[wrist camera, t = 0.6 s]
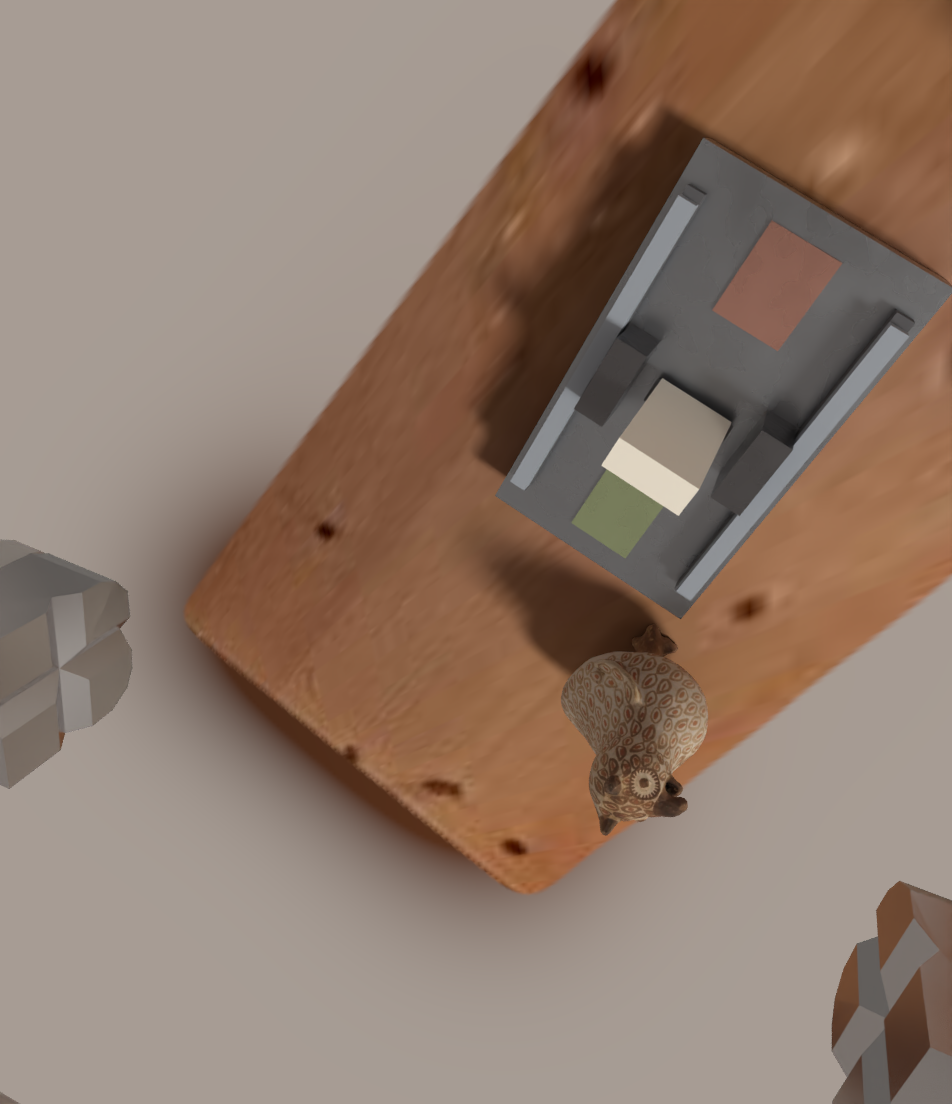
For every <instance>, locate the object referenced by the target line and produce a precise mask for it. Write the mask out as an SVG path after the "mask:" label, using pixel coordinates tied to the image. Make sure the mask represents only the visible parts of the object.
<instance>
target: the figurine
mask: <svg viewBox="0 0 952 1104" xmlns="http://www.w3.org/2000/svg"><path fill="white" fill-rule="evenodd" d="M632 645H633V647H634V648H635V650H636V652H626V651H616V652H609V653H606V654H602V655H598V656H595V657H592V658H591V659H589V660H587V661H586V662H585V663H584V664H582V665H581V666H580V667H579V668H578V669H577V670H576V671H575V672H574V673H573V674H572V675H571V676H570V678H569V679H568V681H567V682H566V684H565V686H564V688H563V691H562V696H561V703H562V707H563V710H564V712H565V714H566V716H567V717H568V718H569V720H570V721H571V722H572V723H573V724H574V725H575V727H576V728H577V729H578V730H579V732H580V733H581V734H582V735H583V736H584V737H585V739H586V740H587V741H588V743H589V744H590V746H591V748H592V749H593V751H594V752H595V754H596V757H595V759H594V761H593V764H592V767H591V771H590V777H589V789H590V794H591V796H592V799H593V802H594V805H595V808H596V811H597V814H598V817H599V820H600V830H601V833H602V834H603V835H605V836H606V835H608V834H609V833H610V832H611V831H612V829H613V828H614V827H615V826H616V824H617V823H618V822H620V821H630V820H636V821H638V822H642V821H644V820H646V819H647V818H648V817H659V816H664V817H675V816H677V815H680V814H681V813H682V812H684V811H685V810H686V809H687V801H686V800H685V798H682V797H677V796H678V795H680V794H681V792H682V791H683V788H682V786H681V785H680V783H678V782H677V781H676V780H675V779H674V777H673V776H672V773H673V771H674V770H675V769H677V768H678V767H679V766H680V765H682V764H683V763H684V762H685V761H686V760H687V759H688V758H689V757H691V756H692V755H693V754H694V753H695V752H696V751H697V750H698V748H699V747H700V745H701V743H702V741H703V740H704V738H705V736H706V732H707V725H708V710H707V703H706V699H705V696H704V694H703V692H702V690H701V688H700V687H699V685H698V684H697V682H696V681H695V680H694V678H693V677H692V676H691V675H690V674H689V673H688V672H687V671H686V670H684V669H683V668H682V667H681V666H679V665H678V664H676V663H674V662H673V661H671V660H668V659H666V658H664V657H663V656H664V655H667V654H669V653H674V652H676V651H677V650H678V647H677V645H676V644H675V643H672V641H671V640H670V639H669V638H668V637H663V636H661V633H660V630H659V629H658V627H657V626H656V624H653V625H650V626H648V627H647V629H646V632H645V634H644V635H643V636H641V637H635V638H633V639H632Z"/></svg>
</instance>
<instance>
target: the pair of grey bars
mask: <svg viewBox="0 0 952 1104" xmlns="http://www.w3.org/2000/svg"><path fill="white" fill-rule="evenodd" d="M706 196H707V194H706V193H705V192H703V191H702V190H700V189H698V188H697V187H695V186H693V185H692V184H687V186H686V188H685V189H684V191H683V193H682V194H681V195H678V197H677V198H676V200H675V202H674V203H673V205H672V207H671V209H670V210H669V212H668V214H667V215H666V217H665V219H664V220H663V222H662V224H661V226H660V227H659V229H658V231H657V232H656V234H655V236H654V237H653V239H652V241H651V243H650V244H649V246H648V248H647V249H646V251H645V253H644V254H643V256H642V258H641V260H640V261H639V263H638V265H637V266H636V268H635V270H634V272H633V273H632V275H631V277H630V278H629V280H628V282H627V283H626V285H625V287H624V289H623V290H622V292H621V294H620V295H619V297H618V299H617V300H616V302H615V304H614V306H613V307H612V309H611V311H610V312H609V314H608V316H607V317H606V319H605V321H604V323H603V324H602V326H601V328H600V329H599V331H598V333H597V335H596V336H595V338H594V340H593V341H592V343H591V345H590V346H589V348H588V350H587V352H586V353H585V355H584V357H583V358H582V360H581V362H580V363H579V365H578V367H577V369H576V370H575V372H574V374H573V375H572V377H571V379H570V380H569V382H568V384H567V386H566V387H565V389H564V391H563V392H562V394H561V396H560V398H559V399H558V401H557V403H556V404H555V406H554V408H553V409H552V411H551V413H550V415H549V416H548V418H547V420H546V421H545V423H544V425H543V426H542V428H541V430H540V432H539V433H538V435H537V437H536V438H535V440H534V442H533V444H532V445H531V447H530V449H529V450H528V452H527V454H526V455H525V457H524V459H523V461H522V462H521V464H520V466H519V467H518V469H517V471H516V472H515V474H514V476H513V478H512V479H511V481H510V482H512V483H513V484H515V485H516V486H518V487H519V488H521V489H522V490H525V491H526V490H527V489H528V488H529V487H530V486H531V484H532V482H533V481H534V479H535V477H536V476H537V474H538V472H539V471H540V469H541V467H542V466H543V464H544V462H545V461H546V459H547V458H548V456H549V454H550V453H551V451H552V449H553V448H554V446H555V444H556V443H557V441H558V439H559V438H560V436H561V434H562V433H563V431H564V429H565V428H566V426H567V425H568V423H569V421H570V420H571V418H572V416H573V415H574V413H575V411H576V410H575V409H574V408H575V406H576V404H577V403H578V401H579V399H580V398H581V396H582V394H583V393H584V391H585V389H586V388H587V386H588V384H589V383H590V381H591V379H592V378H593V376H594V374H595V373H596V371H597V369H598V368H599V366H600V364H601V363H602V361H603V360H604V358H605V356H606V355H607V353H608V351H609V350H610V348H611V346H612V345H613V343H614V341H615V340H616V338H617V337H618V336H619V335H621V334H622V333H623V332H624V331H625V329H626V327H627V326H628V324H629V322H630V321H631V319H632V317H633V316H634V314H635V313H636V311H637V309H638V308H639V306H640V304H641V303H642V301H643V299H644V298H645V296H646V294H647V293H648V291H649V289H650V288H651V286H652V284H653V283H654V281H655V280H656V278H657V276H658V275H659V273H660V271H661V270H662V268H663V266H664V265H665V263H666V261H667V260H668V258H669V256H670V255H671V253H672V252H673V250H674V248H675V247H676V245H677V243H678V242H679V240H680V238H681V237H682V235H683V233H684V232H685V230H686V228H687V227H688V225H689V224H690V222H691V220H692V219H693V217H694V215H695V214H696V212H697V210H698V209H699V207H700V205H701V204H702V202H703V200H704V199H705V197H706ZM914 324H915V322H914V320H913V319H912V318H910V317H908V316H907V315H905V314H903V313H902V312H900V311H898V310H897V309H895V310H894V312H893V313H892V314H891V315H890V317H889V318H888V319H887V320H886V322H885V323H884V324H883V325H882V327H881V328H880V329H879V330H878V332H877V333H876V334H875V335H874V337H873V338H872V339H871V340H870V342H869V343H868V344H867V345H866V347H865V348H864V349H863V350H862V352H861V353H860V354H859V355H858V357H857V358H856V359H855V360H854V362H853V363H852V364H851V365H850V367H849V368H848V369H847V370H846V372H845V373H844V374H843V375H842V377H841V378H840V379H839V380H838V382H837V383H836V384H835V385H834V387H833V388H832V389H831V390H830V392H829V393H828V394H827V395H826V397H825V398H824V399H823V400H822V402H821V403H820V404H819V405H818V407H817V408H816V409H815V410H814V412H813V413H812V414H811V415H810V417H809V418H808V419H807V420H806V422H805V423H804V424H803V425H802V427H801V428H800V429H799V430H798V432H797V433H796V434H795V440H794V447H793V451H792V452H791V453H790V454H789V456H788V457H787V458H786V459H785V461H784V462H783V463H782V464H781V466H780V467H779V468H778V469H777V470H776V472H775V473H774V474H773V475H772V477H771V478H770V479H769V480H768V482H767V483H766V484H765V485H764V487H763V488H762V489H761V490H760V491H759V493H758V494H757V495H756V496H755V498H754V499H753V500H752V501H751V503H750V504H749V505H748V506H747V508H746V509H745V510H744V511H743V513H742V514H741V515H740V516H738V515H737V514H735V513H734V512H733V513H732V514H731V515H730V517H729V518H728V519H727V520H726V522H725V523H724V524H723V525H722V527H721V528H720V529H719V530H718V532H717V533H716V534H715V535H714V537H713V538H712V539H711V540H710V542H709V543H708V544H707V545H706V547H705V548H704V549H703V550H702V552H701V553H700V554H699V555H698V557H697V558H696V559H695V560H694V562H693V563H692V564H691V565H690V567H689V568H688V569H687V570H686V572H685V573H684V574H683V575H682V577H681V578H680V579H679V580H678V582H677V583H676V586H675V589H674V590H675V591H676V592H678V593H679V594H681V595H682V596H684V597H685V598H687V599H688V600H690V601H691V600H692V599H693V597H694V596H695V595H696V594H697V593H698V591H699V590H700V589H701V588H702V587H703V585H704V584H705V583H706V582H707V580H708V579H709V578H710V577H711V576H712V574H713V573H714V572H715V571H716V570H717V568H718V567H719V566H720V565H721V564H722V562H723V561H724V560H725V559H726V558H727V556H728V555H729V554H730V553H731V551H732V550H733V549H734V548H735V547H736V545H737V544H738V543H739V542H740V541H741V539H742V538H743V537H744V536H745V535H746V533H747V532H748V531H749V530H750V529H751V527H752V526H753V525H754V524H755V522H756V521H757V520H758V519H759V518H760V516H761V515H762V514H763V513H764V512H765V510H766V509H767V508H768V507H769V506H770V504H771V503H772V502H773V501H774V500H775V498H776V497H777V496H778V495H779V493H780V492H781V491H782V490H783V489H784V487H785V486H786V485H787V484H788V483H789V481H790V480H791V479H792V478H793V477H794V475H795V474H796V473H797V472H798V471H799V469H800V468H801V467H802V466H803V464H804V463H805V462H806V461H807V460H808V458H809V457H810V456H811V455H812V454H813V452H814V451H815V450H816V449H817V448H818V446H819V445H820V444H821V443H822V442H823V440H824V439H825V438H826V437H827V435H828V434H829V433H830V432H831V431H832V429H833V428H834V427H835V426H836V425H837V423H838V422H839V421H840V420H841V419H842V417H843V416H844V415H845V414H846V413H847V411H848V410H849V409H850V408H851V406H852V405H853V404H854V403H855V402H856V400H857V399H858V398H859V397H860V396H861V394H862V393H863V392H864V391H865V390H866V388H867V387H868V386H869V385H870V384H871V382H872V381H873V380H874V379H875V377H876V376H877V375H878V374H879V373H880V371H881V370H882V369H883V368H884V367H885V365H886V364H887V363H888V362H889V361H890V359H891V358H892V357H893V356H894V355H895V353H896V352H897V351H898V350H899V348H900V347H901V346H902V345H903V344H904V342H905V341H906V340H907V339H908V338H909V334H908V332H909V331H910V329H911V328H912V327H913V326H914Z"/></svg>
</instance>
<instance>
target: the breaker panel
mask: <svg viewBox="0 0 952 1104" xmlns="http://www.w3.org/2000/svg"><path fill="white" fill-rule="evenodd" d="M687 184H692V185H693V186H695V187H697V188H698V189H700V190H702V191H703V192H705V193H706V194H707V196H706V197H705V199H704V200H703V202H702V204H701V205H700V207H699V209H698V210H697V212H696V214H695V215H694V217H693V219H692V220H691V222H690V224H689V225H688V227H687V228H686V230H685V232H684V233H683V235H682V237H681V238H680V240H679V242H678V243H677V245H676V247H675V248H674V250H673V252H672V253H671V255H670V256H669V258H668V260H667V261H666V263H665V265H664V266H663V268H662V270H661V271H660V273H659V275H658V276H657V278H656V280H655V281H654V283H653V284H652V286H651V288H650V289H649V291H648V293H647V294H646V296H645V298H644V299H643V301H642V303H641V304H640V306H639V308H638V309H637V311H636V313H635V314H634V316H633V317H632V319H631V321H630V322H629V324H628V326H627V327H626V329H625V331H624V332H623V333H622V334H621V335H619V336H618V337H617V338H616V340H615V341H614V343H613V345H612V346H611V348H610V350H609V351H608V353H607V355H606V356H605V358H604V360H603V361H602V363H601V364H600V366H599V368H598V369H597V371H596V373H595V374H594V376H593V378H592V379H591V381H590V383H589V384H588V386H587V388H586V389H585V391H584V393H583V394H582V396H581V398H580V399H579V401H578V403H577V404H576V406H575V408H574V409H575V410H576V411H575V413H574V415H573V416H572V418H571V420H570V421H569V423H568V425H567V426H566V428H565V429H564V431H563V433H562V434H561V436H560V438H559V439H558V441H557V443H556V444H555V446H554V448H553V449H552V451H551V453H550V454H549V456H548V458H547V459H546V461H545V462H544V464H543V466H542V467H541V469H540V471H539V472H538V474H537V476H536V477H535V479H534V481H533V482H532V484H531V486H530V487H529V488H528V489H527V490H526V491H525V490H522V489H521V488H519V487H518V486H516V485H515V484H513V483H512V482H510V481H511V479H512V478H513V476H514V474H515V472H516V471H517V469H518V467H519V466H520V464H521V462H522V461H523V459H524V457H525V455H526V454H527V452H528V450H529V449H530V447H531V445H532V444H533V442H534V440H535V438H536V437H537V435H538V433H539V432H540V430H541V428H542V426H543V425H544V423H545V421H546V420H547V418H548V416H549V415H550V413H551V411H552V409H553V408H554V406H555V404H556V403H557V401H558V399H559V398H560V396H561V394H562V392H563V391H564V389H565V387H566V386H567V384H568V382H569V380H570V379H571V377H572V375H573V374H574V372H575V370H576V369H577V367H578V365H579V363H580V362H581V360H582V358H583V357H584V355H585V353H586V352H587V350H588V348H589V346H590V345H591V343H592V341H593V340H594V338H595V336H596V335H597V333H598V331H599V329H600V328H601V326H602V324H603V323H604V321H605V319H606V317H607V316H608V314H609V312H610V311H611V309H612V307H613V306H614V304H615V302H616V300H617V299H618V297H619V295H620V294H621V292H622V290H623V289H624V287H625V285H626V283H627V282H628V280H629V278H630V277H631V275H632V273H633V272H634V270H635V268H636V266H637V265H638V263H639V261H640V260H641V258H642V256H643V254H644V253H645V251H646V249H647V248H648V246H649V244H650V243H651V241H652V239H653V237H654V236H655V234H656V232H657V231H658V229H659V227H660V226H661V224H662V222H663V220H664V219H665V217H666V215H667V214H668V212H669V210H670V209H671V207H672V205H673V203H674V202H675V200H676V198H677V197H678V195H681V194H682V193H683V191H684V189H685V188H686V186H687ZM951 294H952V285H951V284H950V283H949V282H948V281H947V280H946V279H944V278H942V277H941V276H939V275H937V274H936V273H934V272H932V271H931V270H929V269H927V268H926V267H924V266H922V265H921V264H919V263H917V262H916V261H914V260H912V259H911V258H909V257H907V256H906V255H904V254H902V253H901V252H899V251H897V250H896V249H894V248H892V247H891V246H889V245H887V244H886V243H884V242H882V241H881V240H879V239H877V238H876V237H874V236H872V235H871V234H869V233H867V232H866V231H864V230H863V229H861V228H859V227H858V226H856V225H854V224H853V223H851V222H849V221H848V220H846V219H844V218H843V217H841V216H839V215H838V214H836V213H834V212H833V211H831V210H829V209H828V208H826V207H824V206H823V205H821V204H819V203H818V202H816V201H814V200H813V199H811V198H809V197H808V196H806V195H804V194H803V193H801V192H799V191H798V190H796V189H794V188H793V187H791V186H789V185H788V184H786V183H784V182H783V181H781V180H779V179H778V178H776V177H774V176H773V175H771V174H769V173H768V172H766V171H764V170H763V169H761V168H760V167H758V166H756V165H755V164H753V163H751V162H750V161H748V160H746V159H745V158H743V157H741V156H740V155H738V154H736V153H735V152H733V151H731V150H730V149H728V148H726V147H725V146H723V145H721V144H720V143H718V142H716V141H715V140H713V139H711V138H703V139H702V141H701V143H700V144H699V146H698V148H697V149H696V151H695V153H694V155H693V156H692V158H691V160H690V162H689V163H688V165H687V167H686V168H685V170H684V172H683V174H682V175H681V177H680V179H679V180H678V182H677V184H676V186H675V187H674V189H673V191H672V192H671V194H670V196H669V198H668V199H667V201H666V203H665V205H664V206H663V208H662V210H661V211H660V213H659V215H658V217H657V218H656V220H655V222H654V223H653V225H652V227H651V229H650V230H649V232H648V234H647V235H646V237H645V239H644V241H643V242H642V244H641V246H640V248H639V249H638V251H637V253H636V254H635V256H634V258H633V260H632V261H631V263H630V265H629V266H628V268H627V270H626V272H625V273H624V275H623V277H622V278H621V280H620V282H619V284H618V285H617V287H616V289H615V291H614V292H613V294H612V296H611V297H610V299H609V301H608V303H607V304H606V306H605V308H604V309H603V311H602V313H601V315H600V316H599V318H598V320H597V321H596V323H595V325H594V327H593V328H592V330H591V332H590V334H589V335H588V337H587V339H586V340H585V342H584V344H583V346H582V347H581V349H580V351H579V352H578V354H577V356H576V358H575V359H574V361H573V363H572V364H571V366H570V368H569V370H568V371H567V373H566V375H565V377H564V378H563V380H562V382H561V383H560V385H559V387H558V389H557V390H556V392H555V394H554V395H553V397H552V399H551V401H550V402H549V404H548V406H547V407H546V409H545V411H544V413H543V414H542V416H541V418H540V419H539V421H538V423H537V425H536V426H535V428H534V430H533V432H532V433H531V435H530V437H529V438H528V440H527V442H526V444H525V445H524V447H523V449H522V450H521V452H520V454H519V456H518V457H517V459H516V461H515V462H514V464H513V466H512V468H511V469H510V471H509V473H508V475H507V476H506V478H505V480H504V481H503V483H502V485H501V487H500V488H499V490H498V492H497V493H496V495H495V496H496V497H498V498H499V499H501V500H502V501H504V502H505V503H507V504H508V505H510V506H511V507H513V508H514V509H516V510H517V511H519V512H520V513H522V514H523V515H525V516H526V517H528V518H529V519H531V520H532V521H534V522H535V523H537V524H538V525H540V526H541V527H543V528H544V529H546V530H547V531H549V532H550V533H552V534H553V535H555V536H556V537H558V538H559V539H561V540H562V541H564V542H565V543H567V544H568V545H570V546H571V547H573V548H574V549H576V550H577V551H579V552H580V553H582V554H583V555H585V556H586V557H588V558H589V559H591V560H592V561H594V562H596V563H597V564H599V565H600V566H602V567H603V568H605V569H606V570H608V571H609V572H611V573H612V574H614V575H615V576H617V577H618V578H620V579H621V580H623V581H624V582H626V583H627V584H629V585H630V586H632V587H633V588H635V589H636V590H638V591H639V592H641V593H642V594H644V595H645V596H647V597H648V598H650V599H651V600H653V601H654V602H656V603H657V604H659V605H660V606H662V607H663V608H665V609H666V610H668V611H669V612H671V613H672V614H674V615H675V616H677V617H678V618H680V619H681V618H682V617H683V616H684V615H685V613H686V612H687V611H688V610H689V609H690V607H691V606H692V605H693V604H694V603H695V601H696V600H697V599H698V598H699V597H700V595H701V594H702V593H703V592H704V591H705V589H706V588H707V587H708V586H709V584H710V583H711V582H712V581H713V580H714V578H715V577H716V576H717V575H718V574H719V572H720V571H721V570H722V569H723V568H724V566H725V565H726V564H727V563H728V562H729V560H730V559H731V558H732V557H733V556H734V554H735V553H736V552H737V551H738V550H739V548H740V547H741V546H742V545H743V544H744V542H745V541H746V540H747V539H748V538H749V536H750V535H751V534H752V533H753V532H754V530H755V529H756V528H757V527H758V526H759V524H760V523H761V522H762V521H763V520H764V518H765V517H766V516H767V515H768V514H769V512H770V511H771V510H772V509H773V508H774V506H775V505H776V504H777V503H778V502H779V500H780V499H781V498H782V497H783V496H784V494H785V493H786V492H787V491H788V490H789V488H790V487H791V486H792V485H793V484H794V482H795V481H796V480H797V479H798V478H799V476H800V475H801V474H802V473H803V472H804V470H805V469H806V468H807V467H808V466H809V464H810V463H811V462H812V461H813V460H814V458H815V457H816V456H817V455H818V454H819V452H820V451H821V450H822V449H823V448H824V446H825V445H826V444H827V443H828V442H829V440H830V439H831V438H832V437H833V436H834V434H835V433H836V432H837V431H838V430H839V428H840V427H841V426H842V425H843V424H844V422H845V421H846V420H847V419H848V418H849V416H850V415H851V414H852V413H853V412H854V410H855V409H856V408H857V407H858V406H859V404H860V403H861V402H862V401H863V400H864V398H865V397H866V396H867V395H868V394H869V392H870V391H871V390H872V389H873V388H874V386H875V385H876V384H877V383H878V382H879V380H880V379H881V378H882V377H883V376H884V374H885V373H886V372H887V371H888V370H889V368H890V367H891V366H892V365H893V364H894V362H895V361H896V360H897V359H898V358H899V356H900V355H901V354H902V353H903V352H904V350H905V349H906V348H907V347H908V346H909V344H910V343H911V342H912V341H913V340H914V338H915V337H916V336H917V335H918V334H919V332H920V331H921V330H922V329H923V328H924V326H925V325H926V324H927V323H928V322H929V320H930V319H931V318H932V317H933V316H934V314H935V313H936V312H937V311H938V309H939V308H940V307H941V306H942V305H943V303H944V302H945V301H946V300H947V299H948V297H949V296H950V295H951ZM895 309H897V310H898V311H900V312H902V313H903V314H905V315H907V316H908V317H910V318H912V319H913V320H914V322H915V324H914V326H913V327H912V328H911V329H910V331H909V332H908V334H909V338H908V339H907V340H906V341H905V342H904V344H903V345H902V346H901V347H900V348H899V350H898V351H897V352H896V353H895V355H894V356H893V357H892V358H891V359H890V361H889V362H888V363H887V364H886V365H885V367H884V368H883V369H882V370H881V371H880V373H879V374H878V375H877V376H876V377H875V379H874V380H873V381H872V382H871V384H870V385H869V386H868V387H867V388H866V390H865V391H864V392H863V393H862V394H861V396H860V397H859V398H858V399H857V400H856V402H855V403H854V404H853V405H852V406H851V408H850V409H849V410H848V411H847V413H846V414H845V415H844V416H843V417H842V419H841V420H840V421H839V422H838V423H837V425H836V426H835V427H834V428H833V429H832V431H831V432H830V433H829V434H828V435H827V437H826V438H825V439H824V440H823V442H822V443H821V444H820V445H819V446H818V448H817V449H816V450H815V451H814V452H813V454H812V455H811V456H810V457H809V458H808V460H807V461H806V462H805V463H804V464H803V466H802V467H801V468H800V469H799V471H798V472H797V473H796V474H795V475H794V477H793V478H792V479H791V480H790V481H789V483H788V484H787V485H786V486H785V487H784V489H783V490H782V491H781V492H780V493H779V495H778V496H777V497H776V498H775V500H774V501H773V502H772V503H771V504H770V506H769V507H768V508H767V509H766V510H765V512H764V513H763V514H762V515H761V516H760V518H759V519H758V520H757V521H756V522H755V524H754V525H753V526H752V527H751V529H750V530H749V531H748V532H747V533H746V535H745V536H744V537H743V538H742V539H741V541H740V542H739V543H738V544H737V545H736V547H735V548H734V549H733V550H732V551H731V553H730V554H729V555H728V556H727V558H726V559H725V560H724V561H723V562H722V564H721V565H720V566H719V567H718V568H717V570H716V571H715V572H714V573H713V574H712V576H711V577H710V578H709V579H708V580H707V582H706V583H705V584H704V585H703V587H702V588H701V589H700V590H699V591H698V593H697V594H696V595H695V596H694V597H693V599H692V600H691V601H690V600H688V599H687V598H685V597H684V596H682V595H681V594H679V593H678V592H676V591H675V590H674V589H675V586H676V583H677V582H678V580H679V579H680V578H681V577H682V575H683V574H684V573H685V572H686V570H687V569H688V568H689V567H690V565H691V564H692V563H693V562H694V560H695V559H696V558H697V557H698V555H699V554H700V553H701V552H702V550H703V549H704V548H705V547H706V545H707V544H708V543H709V542H710V540H711V539H712V538H713V537H714V535H715V534H716V533H717V532H718V530H719V529H720V528H721V527H722V525H723V524H724V523H725V522H726V520H727V519H728V518H729V517H730V515H731V514H732V513H733V512H734V513H735V514H737V515H738V516H740V515H741V514H742V513H743V511H744V510H745V509H746V508H747V506H748V505H749V504H750V503H751V501H752V500H753V499H754V498H755V496H756V495H757V494H758V493H759V491H760V490H761V489H762V488H763V487H764V485H765V484H766V483H767V482H768V480H769V479H770V478H771V477H772V475H773V474H774V473H775V472H776V470H777V469H778V468H779V467H780V466H781V464H782V463H783V462H784V461H785V459H786V458H787V457H788V456H789V454H790V453H791V452H792V451H793V447H794V440H795V434H796V433H797V432H798V430H799V429H800V428H801V427H802V425H803V424H804V423H805V422H806V420H807V419H808V418H809V417H810V415H811V414H812V413H813V412H814V410H815V409H816V408H817V407H818V405H819V404H820V403H821V402H822V400H823V399H824V398H825V397H826V395H827V394H828V393H829V392H830V390H831V389H832V388H833V387H834V385H835V384H836V383H837V382H838V380H839V379H840V378H841V377H842V375H843V374H844V373H845V372H846V370H847V369H848V368H849V367H850V365H851V364H852V363H853V362H854V360H855V359H856V358H857V357H858V355H859V354H860V353H861V352H862V350H863V349H864V348H865V347H866V345H867V344H868V343H869V342H870V340H871V339H872V338H873V337H874V335H875V334H876V333H877V332H878V330H879V329H880V328H881V327H882V325H883V324H884V323H885V322H886V320H887V319H888V318H889V317H890V315H891V314H892V313H893V312H894V310H895ZM658 378H659V379H660V380H661V379H662V378H663V379H665V380H666V381H668V382H669V383H671V384H672V385H674V386H676V387H677V388H679V389H680V390H682V391H683V392H685V393H687V394H688V395H690V396H691V397H693V398H694V399H696V400H698V401H699V402H701V403H702V404H704V405H705V406H707V407H709V408H710V409H712V410H713V411H715V412H716V413H718V414H720V415H721V416H723V417H724V418H726V419H727V420H729V421H731V422H732V423H731V425H732V426H733V428H732V429H731V431H730V433H729V434H728V436H727V437H726V438H725V440H724V441H723V443H722V444H721V446H720V448H719V450H718V452H717V454H716V456H715V458H714V460H713V462H712V464H711V466H710V468H709V470H708V472H707V474H706V476H705V479H704V481H703V483H702V485H701V487H700V489H699V490H698V492H697V493H696V494H695V495H694V497H693V498H692V499H691V501H690V502H689V503H688V504H687V506H686V507H685V508H684V510H683V511H682V512H681V513H680V515H679V516H678V515H676V514H675V513H673V512H672V511H670V510H669V509H667V508H666V507H664V506H662V505H661V504H659V503H658V502H656V501H655V500H653V499H652V498H650V497H649V496H647V495H646V494H644V493H643V492H641V491H639V490H638V489H636V488H635V487H633V486H632V485H630V484H629V483H627V482H626V481H624V480H623V479H621V478H620V477H618V476H616V475H615V474H613V473H612V472H610V471H609V470H607V469H606V468H604V467H603V466H601V465H602V463H603V462H604V460H605V459H606V457H607V456H608V454H609V453H610V451H611V450H612V448H613V447H614V445H615V444H616V442H617V440H618V439H619V437H620V436H621V435H622V433H623V432H624V431H625V429H626V428H627V426H628V425H629V424H630V422H631V421H632V419H633V418H634V417H635V415H636V414H637V413H638V411H639V410H640V408H641V407H642V406H643V404H644V403H645V401H644V398H645V397H646V395H647V394H648V392H649V391H650V389H651V388H652V386H653V385H654V383H655V382H656V380H657V379H658Z"/></svg>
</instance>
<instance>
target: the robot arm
mask: <svg viewBox="0 0 952 1104" xmlns="http://www.w3.org/2000/svg"><path fill="white" fill-rule="evenodd" d="M129 618H130V609H129V600H128V591H127V590H126V589H125V588H123V587H122V586H121V585H120V584H119V583H117V582H116V581H114V580H111V579H109V578H107V577H104V576H102V575H100V574H97V573H95V572H92V571H90V570H87V569H85V568H83V567H80V566H78V565H75V564H73V563H70V562H68V561H66V560H63V559H61V558H58V557H56V556H54V555H51V554H49V553H44V552H41V551H39V550H37V549H34V548H32V547H30V546H27V545H25V544H22V543H20V542H17V541H15V540H0V785H2V786H4V787H6V788H8V789H10V788H11V787H12V786H14V785H15V784H16V783H18V782H19V781H20V780H21V779H23V778H24V777H25V776H27V775H28V774H29V773H31V772H32V771H33V770H35V769H36V768H37V767H39V766H40V765H41V764H43V763H44V762H45V761H47V760H48V759H49V758H51V757H52V756H53V755H55V754H56V753H57V752H59V751H60V750H61V746H62V743H63V739H64V735H65V733H67V732H71V731H75V730H79V729H83V728H86V727H90V726H93V725H94V724H96V723H97V722H98V721H99V720H100V719H102V718H103V717H104V716H106V715H107V714H108V713H109V712H110V711H112V710H113V708H114V707H115V705H116V704H117V702H118V701H119V699H120V698H121V696H122V695H123V693H124V692H125V690H126V689H127V687H128V683H129V678H130V675H131V671H132V649H131V647H130V646H129V644H128V642H127V640H126V639H125V637H124V635H123V633H122V631H121V630H120V628H121V627H122V626H123V625H124V623H125V622H126V621H127V620H128V619H129ZM876 911H877V928H878V937H875V938H872V939H869V940H866V941H863V942H860V943H857V944H856V946H855V948H854V950H853V952H852V954H851V956H850V958H849V960H848V961H847V963H846V965H845V967H844V969H843V972H842V976H841V979H840V983H839V986H838V989H837V993H836V996H835V1001H834V1009H833V1018H832V1052H833V1054H834V1056H835V1058H836V1059H837V1061H838V1063H839V1064H840V1066H841V1068H842V1069H843V1071H844V1073H845V1075H846V1076H847V1079H846V1080H845V1082H844V1083H843V1085H842V1086H841V1088H840V1090H839V1091H838V1093H837V1094H836V1096H835V1098H834V1099H833V1101H832V1104H952V900H949V899H947V898H944V897H941V896H939V895H936V894H933V893H931V892H928V891H925V890H923V889H920V888H917V887H914V886H912V885H909V884H907V883H904V882H901V881H899V882H897V883H896V884H895V885H894V886H893V887H892V888H890V889H889V890H888V892H887V893H886V895H885V897H884V898H883V900H882V901H881V903H880V905H879V907H878V908H877V910H876ZM0 1104H19V1103H18V1102H16V1101H14V1100H13V1099H11V1098H9V1097H8V1096H6V1095H4V1094H3V1093H1V1092H0Z"/></svg>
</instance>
